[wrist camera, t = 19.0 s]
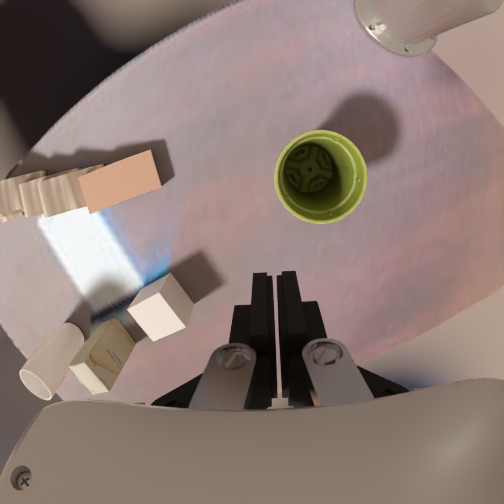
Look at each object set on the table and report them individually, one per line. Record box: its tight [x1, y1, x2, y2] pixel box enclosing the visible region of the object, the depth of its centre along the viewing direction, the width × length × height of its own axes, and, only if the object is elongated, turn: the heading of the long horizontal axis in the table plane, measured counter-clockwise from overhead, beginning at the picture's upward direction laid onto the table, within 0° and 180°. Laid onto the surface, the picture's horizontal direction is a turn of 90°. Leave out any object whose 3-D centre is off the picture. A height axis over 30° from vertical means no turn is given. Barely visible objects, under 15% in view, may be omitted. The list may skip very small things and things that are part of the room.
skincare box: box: [68, 317, 135, 395], centre depth 41 cm, size 6×4×12 cm
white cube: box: [127, 272, 194, 342], centre depth 41 cm, size 6×6×6 cm
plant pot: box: [274, 130, 367, 224], centre depth 32 cm, size 9×9×9 cm
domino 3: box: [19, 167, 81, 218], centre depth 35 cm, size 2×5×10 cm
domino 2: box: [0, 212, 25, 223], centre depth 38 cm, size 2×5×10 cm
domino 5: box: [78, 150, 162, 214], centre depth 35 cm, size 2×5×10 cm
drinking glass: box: [20, 323, 84, 400], centre depth 40 cm, size 7×7×15 cm
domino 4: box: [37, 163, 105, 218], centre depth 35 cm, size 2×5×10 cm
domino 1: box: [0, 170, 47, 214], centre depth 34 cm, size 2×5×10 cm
